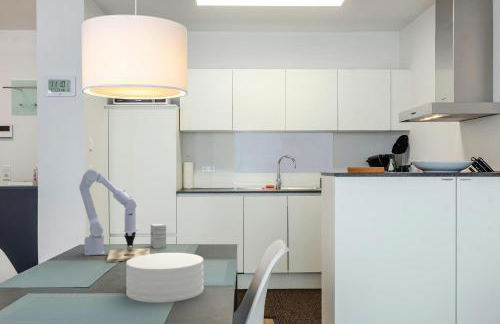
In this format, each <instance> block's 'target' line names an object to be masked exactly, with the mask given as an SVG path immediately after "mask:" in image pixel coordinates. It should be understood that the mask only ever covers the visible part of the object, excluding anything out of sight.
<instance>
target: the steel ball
mask: <svg viewBox="0 0 500 324" xmlns="http://www.w3.org/2000/svg"><path fill="white" fill-rule="evenodd" d="M126 246H127V245H126ZM126 249H127V250H128V251H132V249H134V247H132V246H131V245H129V246H127V247H126Z"/></svg>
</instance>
